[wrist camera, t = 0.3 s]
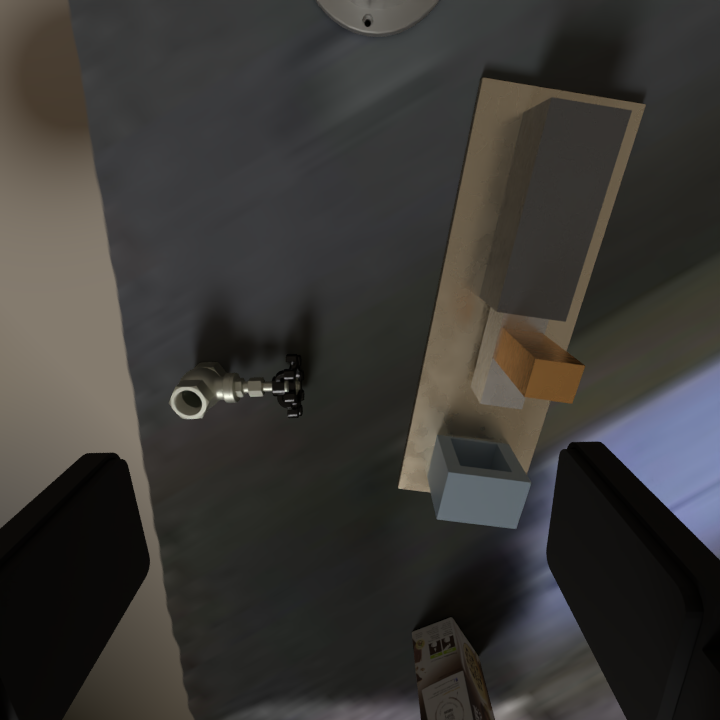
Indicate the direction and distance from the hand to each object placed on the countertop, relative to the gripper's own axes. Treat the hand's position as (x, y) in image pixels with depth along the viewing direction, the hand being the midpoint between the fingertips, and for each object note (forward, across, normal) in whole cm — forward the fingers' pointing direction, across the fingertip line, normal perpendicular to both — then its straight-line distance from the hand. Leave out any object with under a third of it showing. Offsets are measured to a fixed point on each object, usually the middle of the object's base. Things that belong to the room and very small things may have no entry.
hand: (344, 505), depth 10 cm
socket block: (+35, -11, +21) cm, 42 cm away
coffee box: (+37, -10, +51) cm, 64 cm away
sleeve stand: (+36, -14, +6) cm, 39 cm away
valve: (+36, +12, +11) cm, 40 cm away
